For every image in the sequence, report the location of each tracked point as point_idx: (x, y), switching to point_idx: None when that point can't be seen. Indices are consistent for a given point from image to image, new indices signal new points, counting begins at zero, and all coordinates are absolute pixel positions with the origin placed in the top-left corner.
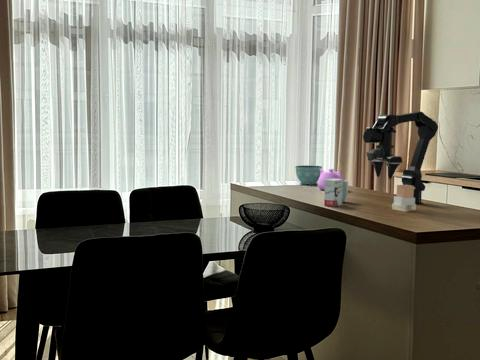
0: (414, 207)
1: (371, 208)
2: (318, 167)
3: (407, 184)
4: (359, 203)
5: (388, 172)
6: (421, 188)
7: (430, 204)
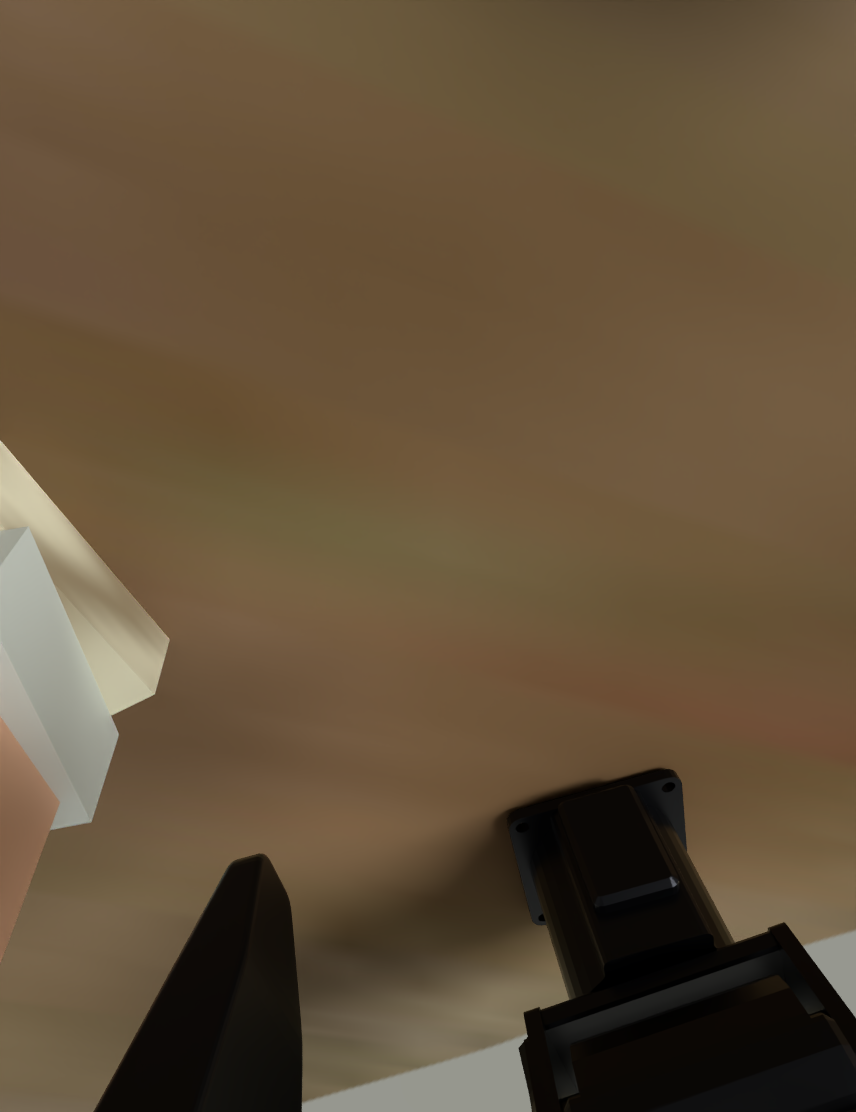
0: None
1: (17, 38)
2: None
3: (671, 1028)
4: (745, 35)
5: (164, 1103)
6: (530, 1092)
7: (491, 955)
